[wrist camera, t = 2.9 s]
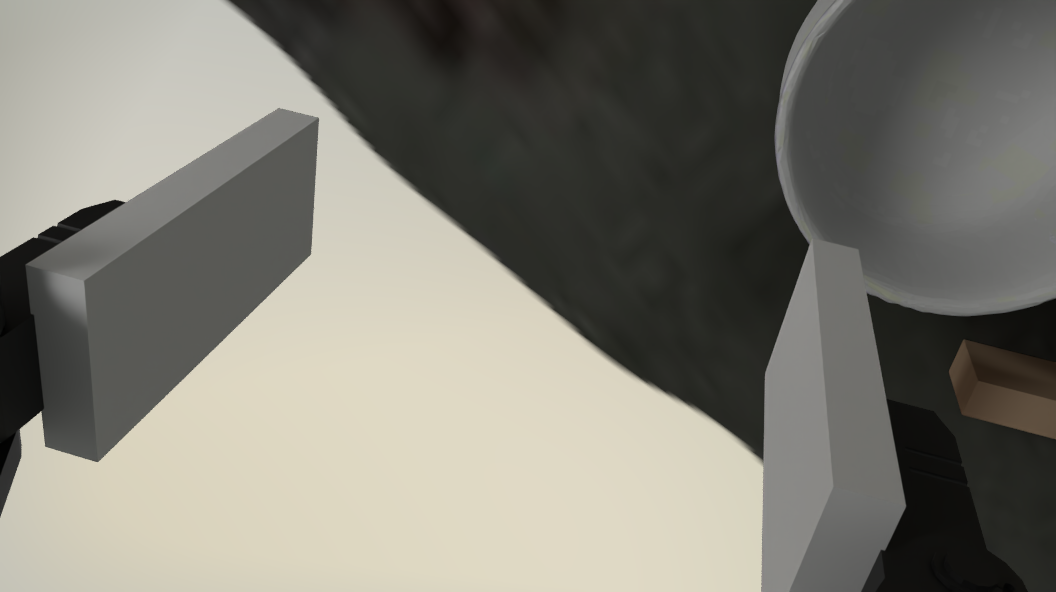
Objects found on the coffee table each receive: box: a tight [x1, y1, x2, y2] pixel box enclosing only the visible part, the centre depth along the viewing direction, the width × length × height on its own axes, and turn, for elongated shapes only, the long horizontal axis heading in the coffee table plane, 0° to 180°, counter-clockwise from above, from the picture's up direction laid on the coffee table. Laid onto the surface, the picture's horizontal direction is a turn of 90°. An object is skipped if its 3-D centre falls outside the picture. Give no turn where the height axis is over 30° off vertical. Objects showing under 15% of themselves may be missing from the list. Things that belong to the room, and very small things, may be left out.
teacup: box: [775, 0, 1056, 316], centre depth 29 cm, size 14×11×8 cm
